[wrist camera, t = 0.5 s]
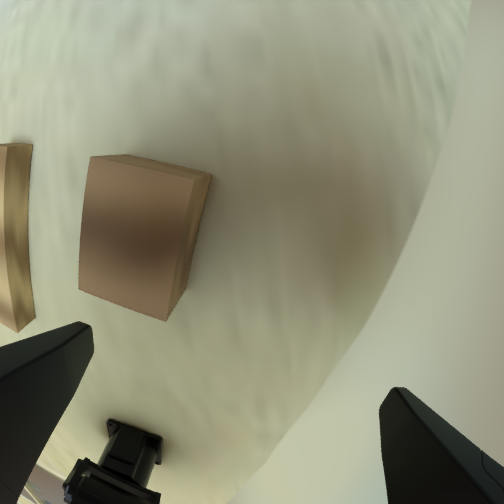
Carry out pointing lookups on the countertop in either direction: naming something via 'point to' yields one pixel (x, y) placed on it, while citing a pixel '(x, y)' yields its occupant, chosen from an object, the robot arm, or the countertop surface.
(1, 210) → the tan rectangular bar
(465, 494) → the robot arm
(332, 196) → the countertop surface
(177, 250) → the block
